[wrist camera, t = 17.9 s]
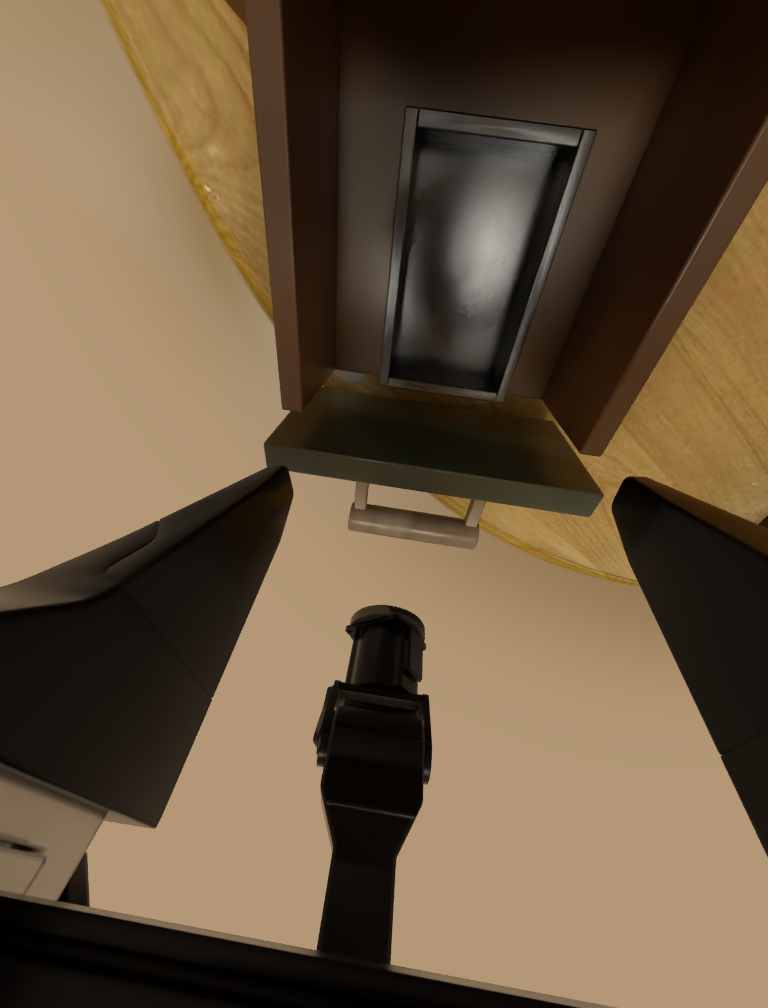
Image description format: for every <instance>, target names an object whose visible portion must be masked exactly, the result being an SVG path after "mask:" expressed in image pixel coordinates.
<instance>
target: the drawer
mask: <svg viewBox="0 0 768 1008" xmlns="http://www.w3.org/2000/svg"><path fill="white" fill-rule="evenodd" d="M244 1H245V12H246V23H247V33H248V44H249V55H250V66H251V77H252V88H253V99H254V109H255V120H256V131H257V142H258V153H259V164H260V174H261V185H262V196H263V207H264V218H265V229H266V239H267V250H268V261H269V272H270V283H271V294H272V304H273V315H274V326H275V336H276V347H277V359H278V369H279V380H280V391H281V402H282V409H283V410H290V411H291V412H290V413H289V414H288V415H287V416H286V418H285V419H284V420H283V421H282V422H281V424H280V425H279V426H278V427H277V428H276V429H275V431H274V432H273V433H272V434H271V435H270V437H269V438H268V439H267V440H266V441H265V442H264V449H265V457H266V464H267V467H269V466H271V465H283V466H286V467H287V469H288V471H292V472H299V473H305V474H311V475H318V476H324V477H332V478H338V479H345V480H351V481H356V492H355V502H353V504H352V506H351V510H350V515H349V524H348V527H349V530H351V531H357V532H364V533H370V534H377V535H383V536H390V537H396V538H403V539H409V540H416V541H421V542H428V543H434V544H441V545H447V546H453V547H460V548H467V549H474V548H475V547H476V545H477V542H478V537H479V524H478V521H479V519H480V516H481V513H482V511H483V508H484V506H485V503H486V501H487V502H494V503H500V504H507V505H514V506H520V507H527V508H533V509H540V510H546V511H553V512H559V513H566V514H572V515H579V516H585V517H590V516H591V514H592V513H593V511H594V510H595V508H596V507H597V505H598V504H599V502H600V501H601V499H602V498H603V496H604V494H603V493H602V491H601V490H600V488H599V487H598V485H597V484H596V482H595V481H594V480H593V478H592V477H591V475H590V474H589V472H588V471H587V470H586V468H585V467H584V465H583V464H582V462H581V461H580V459H579V458H578V457H577V455H576V454H575V452H574V451H573V449H572V448H571V446H570V445H569V444H568V442H567V441H566V439H565V438H564V436H563V435H562V433H561V432H560V431H559V429H558V428H557V426H556V425H555V423H554V422H553V421H547V420H540V419H534V418H527V417H520V416H513V415H507V414H500V413H493V412H486V411H480V410H473V409H466V408H459V407H453V406H446V405H439V404H432V403H426V402H419V401H412V400H405V399H399V398H392V397H385V396H378V395H372V394H365V393H358V392H351V391H344V390H338V389H331V388H324V387H322V386H323V384H324V383H325V382H326V380H327V379H328V378H329V377H330V375H331V374H332V373H333V371H334V370H335V369H337V370H344V371H351V372H358V373H365V374H372V375H378V376H380V366H381V356H382V345H383V335H384V324H385V313H386V303H387V292H388V282H389V271H390V260H391V250H392V239H393V229H394V218H395V208H396V197H397V186H398V176H399V165H400V155H401V144H402V134H403V123H404V112H405V106H407V105H408V106H416V107H418V108H420V107H424V108H432V109H440V110H447V111H455V112H463V113H471V114H479V115H487V116H495V117H503V118H511V119H519V120H526V121H534V122H542V123H550V124H558V125H566V126H574V127H582V128H583V129H584V128H590V129H596V130H597V134H596V137H595V140H594V143H593V146H592V149H591V152H590V154H589V157H588V160H587V163H586V166H585V169H584V172H583V175H582V178H581V181H580V183H579V186H578V189H577V192H576V195H575V198H574V201H573V204H572V207H571V209H570V212H569V215H568V218H567V221H566V224H565V227H564V230H563V233H562V236H561V238H560V241H559V244H558V247H557V250H556V253H555V256H554V259H553V262H552V264H551V267H550V270H549V273H548V276H547V279H546V282H545V285H544V288H543V291H542V293H541V296H540V299H539V302H538V305H537V308H536V311H535V314H534V317H533V319H532V322H531V325H530V328H529V331H528V334H527V337H526V340H525V343H524V346H523V348H522V351H521V354H520V357H519V360H518V363H517V366H516V369H515V372H514V374H513V377H512V380H511V383H510V386H509V389H508V392H507V394H508V395H515V396H521V397H528V398H535V399H542V401H543V402H544V404H545V405H546V406H547V408H548V409H549V411H550V412H551V413H552V415H553V416H554V418H555V419H556V420H557V422H558V423H559V425H560V426H561V427H562V429H563V430H564V431H565V433H566V434H567V436H568V437H569V438H570V440H571V441H572V443H573V444H574V445H575V447H576V448H577V450H578V451H579V452H580V453H581V454H586V455H592V456H601V455H602V454H603V452H604V450H605V449H606V447H607V445H608V444H609V442H610V440H611V439H612V437H613V435H614V434H615V432H616V430H617V429H618V427H619V426H620V424H621V422H622V421H623V419H624V417H625V416H626V414H627V412H628V411H629V409H630V407H631V406H632V404H633V402H634V401H635V399H636V397H637V396H638V394H639V392H640V391H641V389H642V387H643V386H644V384H645V383H646V381H647V379H648V378H649V376H650V374H651V373H652V371H653V369H654V368H655V366H656V364H657V363H658V361H659V359H660V358H661V356H662V354H663V353H664V351H665V349H666V348H667V346H668V344H669V343H670V341H671V340H672V338H673V336H674V335H675V333H676V331H677V330H678V328H679V326H680V325H681V323H682V321H683V320H684V318H685V316H686V315H687V313H688V311H689V310H690V308H691V306H692V305H693V303H694V301H695V300H696V298H697V297H698V295H699V293H700V292H701V290H702V288H703V287H704V285H705V283H706V282H707V280H708V278H709V277H710V275H711V273H712V272H713V270H714V268H715V267H716V265H717V263H718V262H719V260H720V258H721V257H722V255H723V253H724V252H725V250H726V249H727V247H728V245H729V244H730V242H731V240H732V239H733V237H734V235H735V234H736V232H737V230H738V229H739V227H740V225H741V224H742V222H743V220H744V219H745V217H746V215H747V214H748V212H749V210H750V209H751V207H752V206H753V204H754V202H755V201H756V199H757V197H758V196H759V194H760V192H761V191H762V189H763V187H764V186H765V184H766V182H767V181H768V0H244ZM369 483H370V484H377V485H383V486H390V487H396V488H403V489H409V490H416V491H422V492H429V493H435V494H442V495H448V496H455V497H461V498H468V499H471V502H470V505H469V508H468V511H467V514H466V516H465V519H461V518H454V517H448V516H441V515H434V514H429V513H422V512H416V511H409V510H403V509H396V508H389V507H383V506H377V505H370V504H367V496H368V486H369Z"/></svg>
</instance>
